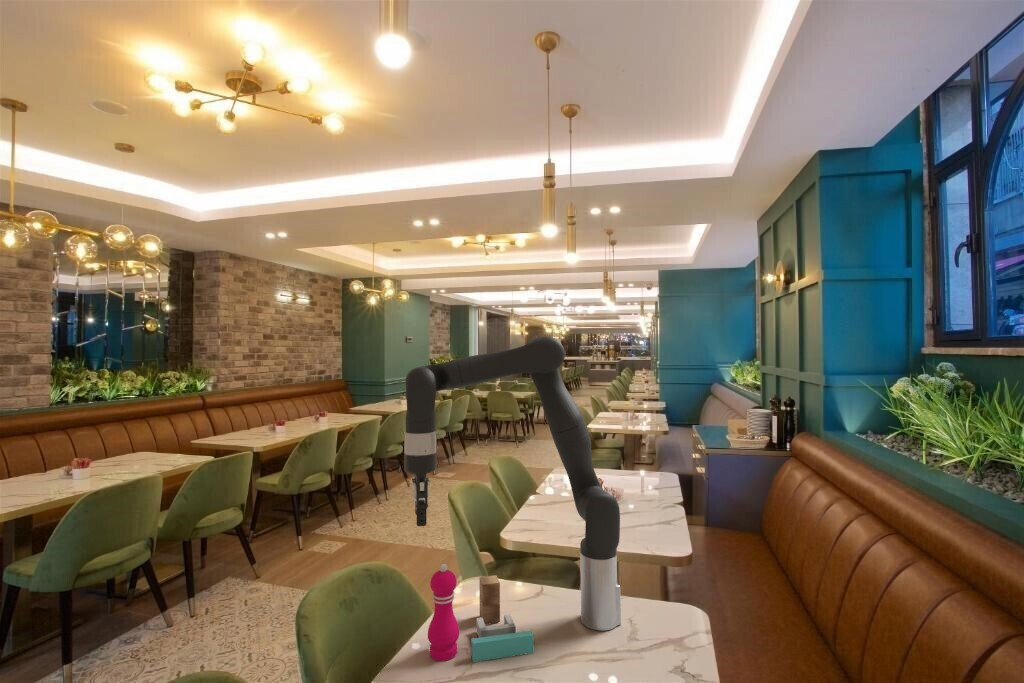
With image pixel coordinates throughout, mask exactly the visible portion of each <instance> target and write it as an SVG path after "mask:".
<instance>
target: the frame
mask: <svg viewBox="0 0 1024 683" xmlns="http://www.w3.org/2000/svg"><path fill="white" fill-rule="evenodd" d="M503 617H504V618H503V624H499V625H491V626H486V624H485V623H484V621H483V618H480V617H477V618H476V633H477V636H478V637H477V638H480V637H487V636H495V635H502V634H509V633H516V630H517V629H516V627H517V626H516V624H515V622H514V619H513V618H512V616H511V613H508V614H504V615H503Z"/></svg>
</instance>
